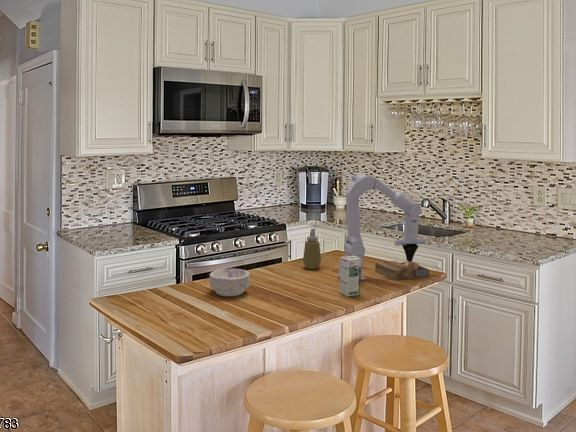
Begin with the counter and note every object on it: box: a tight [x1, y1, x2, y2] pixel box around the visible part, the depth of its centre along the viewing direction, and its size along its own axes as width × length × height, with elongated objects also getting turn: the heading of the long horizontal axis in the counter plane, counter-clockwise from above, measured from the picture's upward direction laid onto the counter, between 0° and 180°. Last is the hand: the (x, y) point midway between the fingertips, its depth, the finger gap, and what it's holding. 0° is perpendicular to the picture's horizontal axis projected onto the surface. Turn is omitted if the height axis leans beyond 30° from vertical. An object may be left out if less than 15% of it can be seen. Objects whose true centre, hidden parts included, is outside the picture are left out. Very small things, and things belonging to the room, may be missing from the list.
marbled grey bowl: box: [209, 268, 251, 297], centre depth 218 cm, size 15×15×8 cm
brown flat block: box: [375, 260, 415, 281], centre depth 248 cm, size 10×15×4 cm, turn 21°
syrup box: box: [339, 255, 362, 298], centre depth 218 cm, size 6×6×14 cm
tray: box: [400, 261, 430, 279], centre depth 252 cm, size 7×15×3 cm, turn 21°
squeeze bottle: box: [302, 228, 322, 270], centre depth 257 cm, size 8×8×18 cm
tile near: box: [407, 260, 419, 271], centre depth 248 cm, size 5×5×2 cm
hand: (409, 261), depth 247 cm, fingers closed
